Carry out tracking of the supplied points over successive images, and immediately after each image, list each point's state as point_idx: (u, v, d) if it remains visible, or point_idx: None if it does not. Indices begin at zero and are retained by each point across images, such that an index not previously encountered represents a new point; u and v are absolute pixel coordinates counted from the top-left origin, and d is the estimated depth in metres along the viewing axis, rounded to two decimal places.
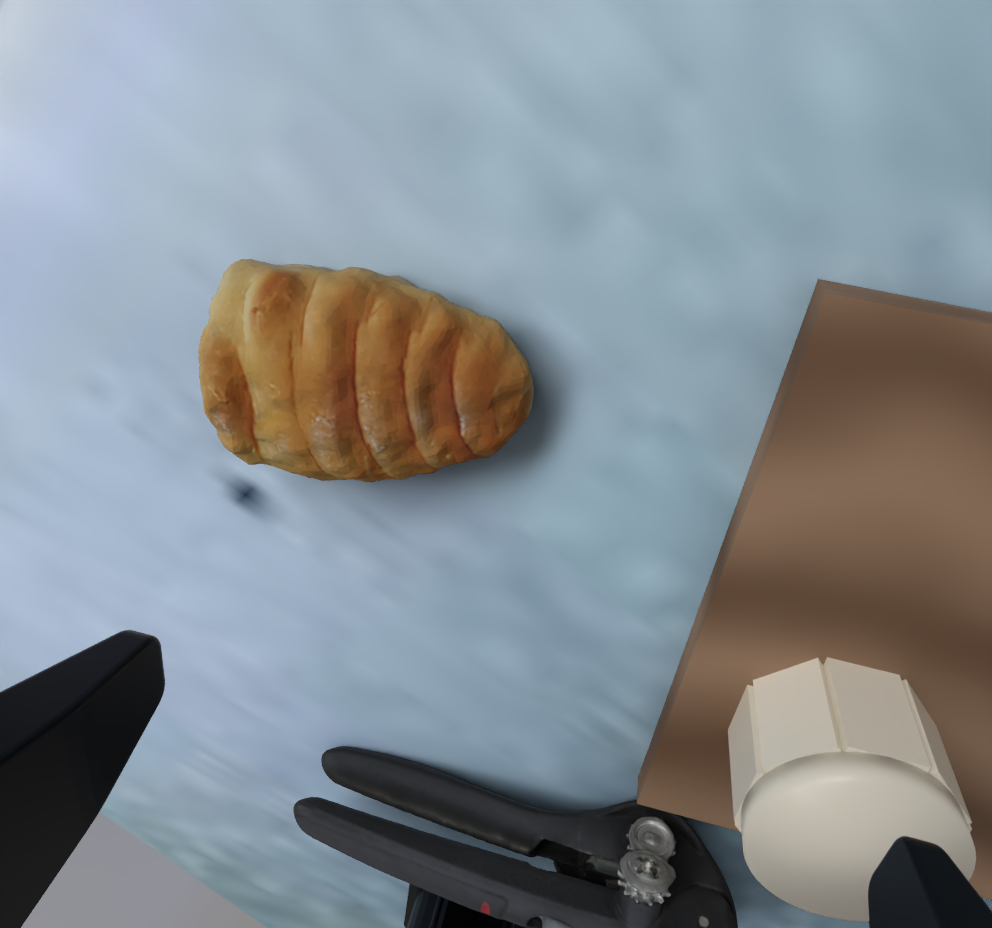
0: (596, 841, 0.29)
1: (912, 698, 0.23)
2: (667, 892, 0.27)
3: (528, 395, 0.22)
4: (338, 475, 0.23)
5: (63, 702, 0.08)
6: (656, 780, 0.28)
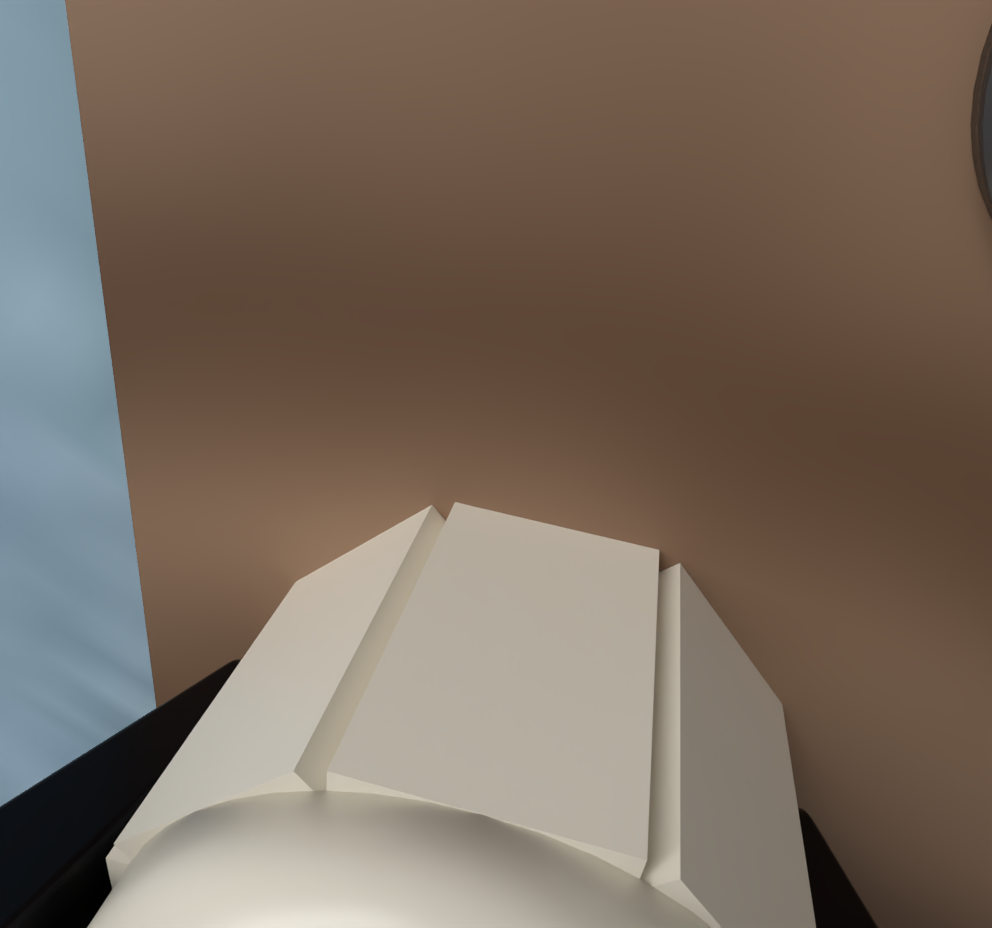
0: None
1: (679, 613, 0.07)
2: None
3: None
4: None
5: None
6: None
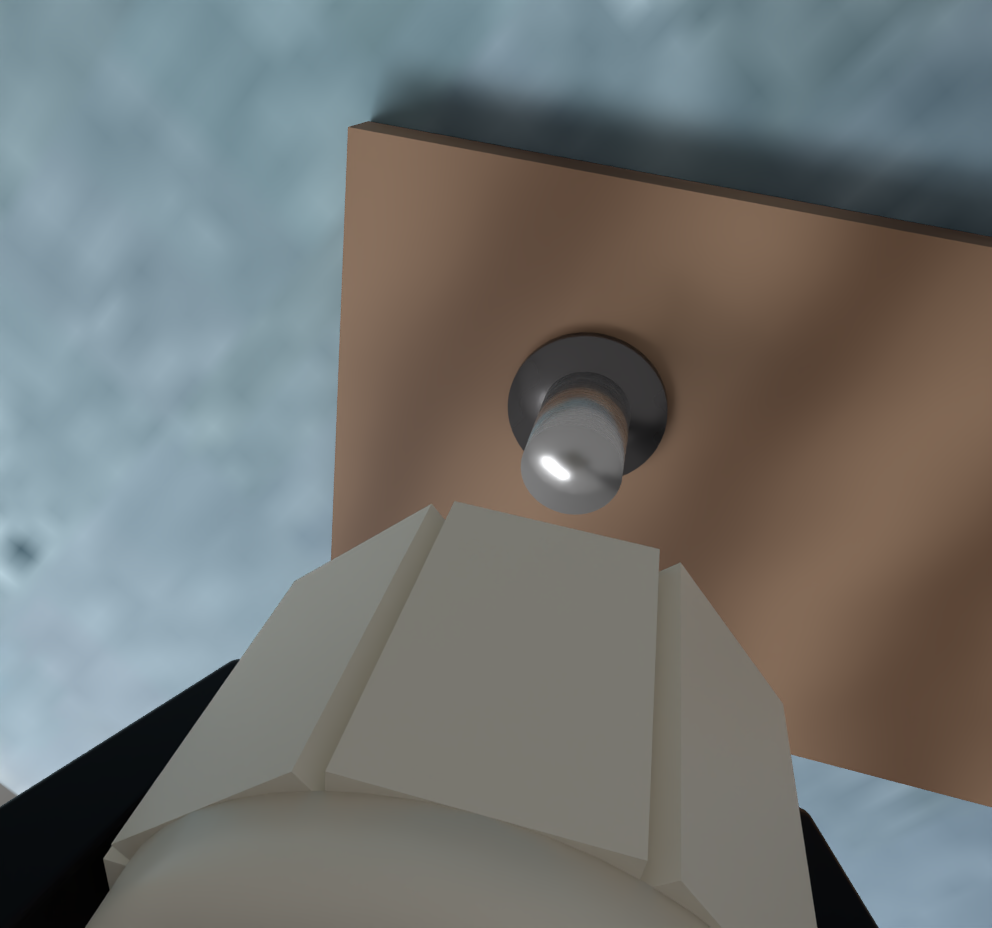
0: None
1: (680, 612, 0.07)
2: None
3: None
4: None
5: None
6: (978, 793, 0.21)
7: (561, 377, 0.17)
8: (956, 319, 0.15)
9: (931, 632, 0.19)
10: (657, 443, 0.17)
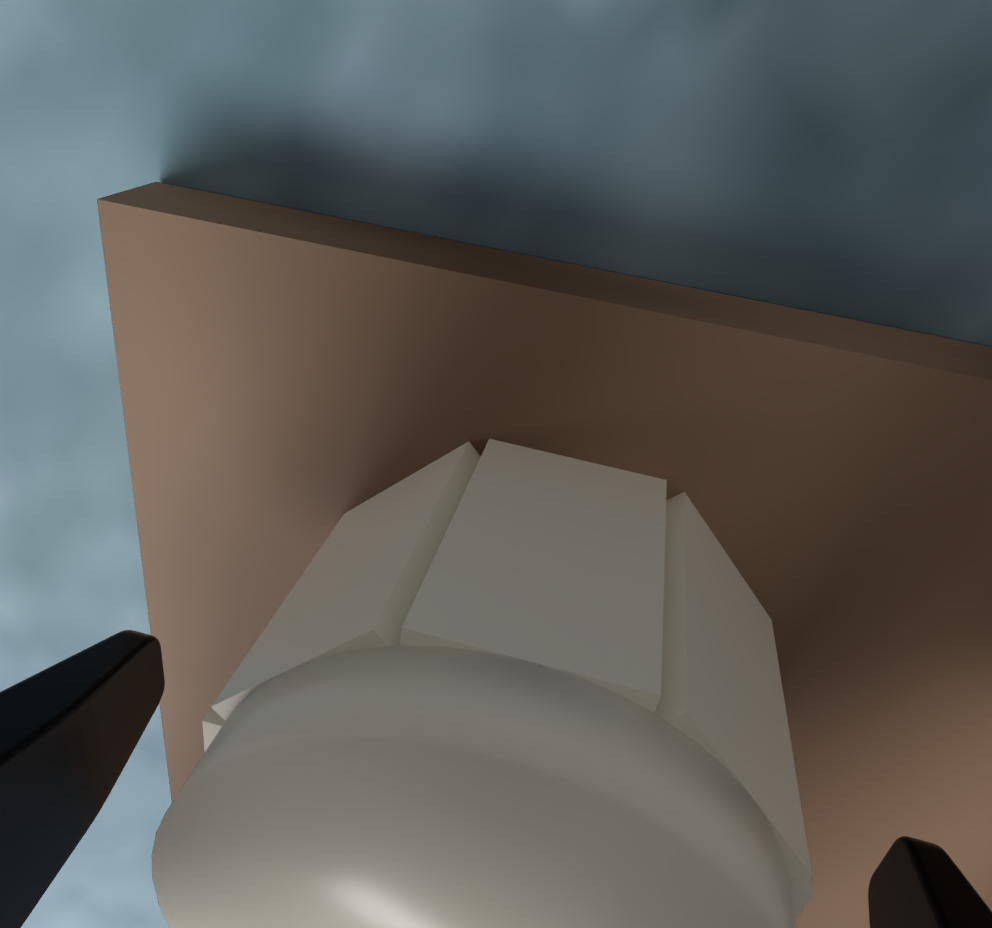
0: None
1: (684, 529, 0.09)
2: None
3: None
4: None
5: (63, 702, 0.08)
6: None
7: None
8: None
9: None
10: None
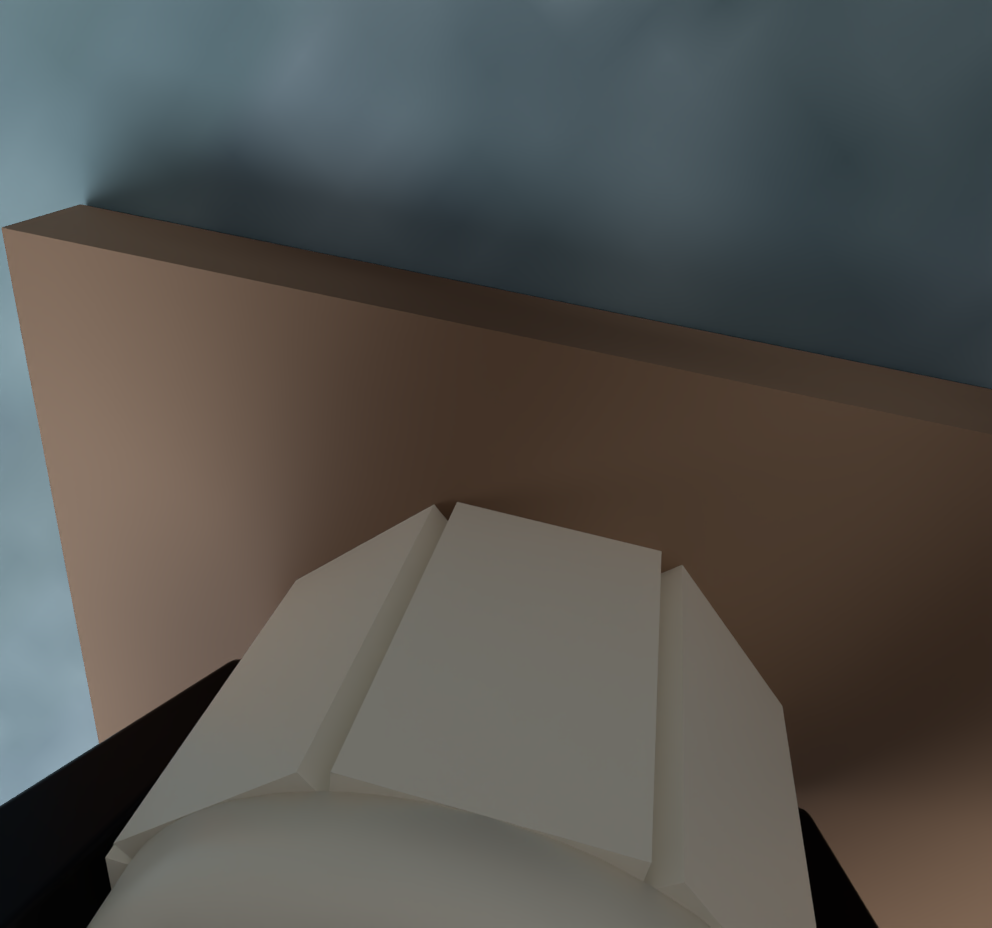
0: None
1: (681, 615, 0.07)
2: None
3: None
4: None
5: None
6: None
7: None
8: None
9: None
10: None
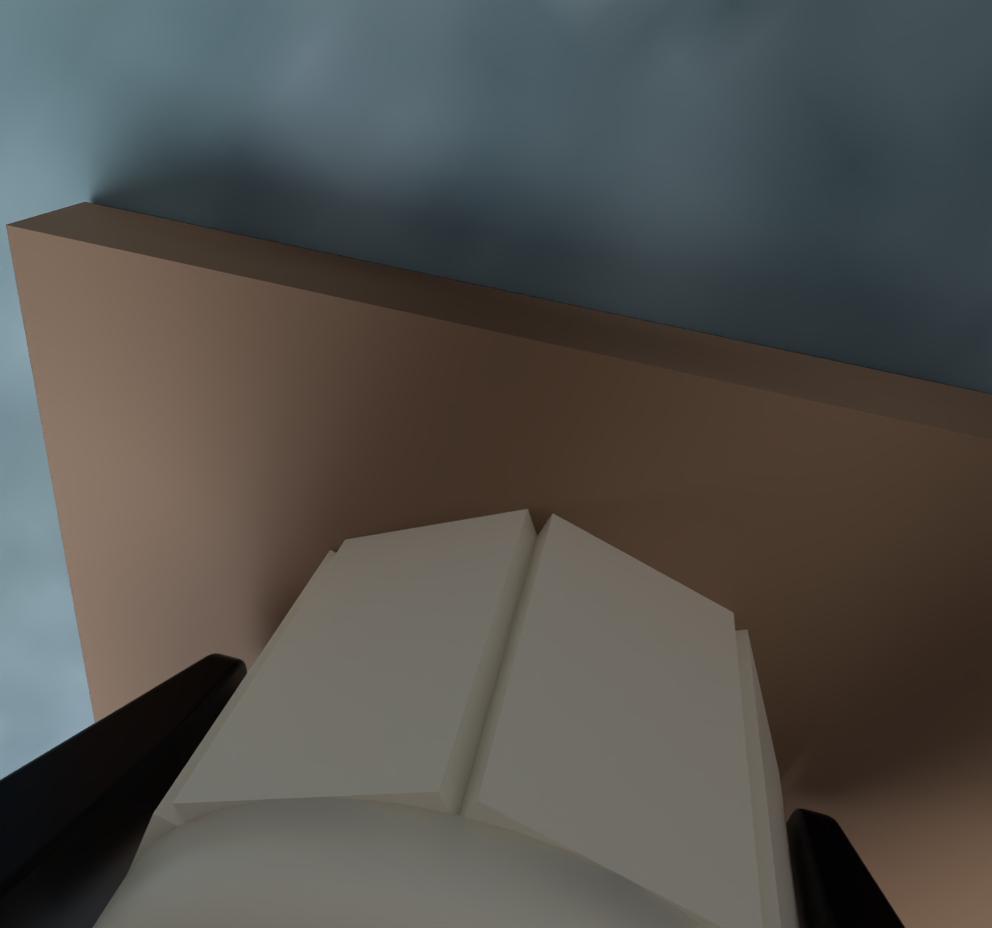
0: None
1: (320, 582, 0.08)
2: None
3: None
4: None
5: (164, 730, 0.08)
6: None
7: None
8: None
9: None
10: None
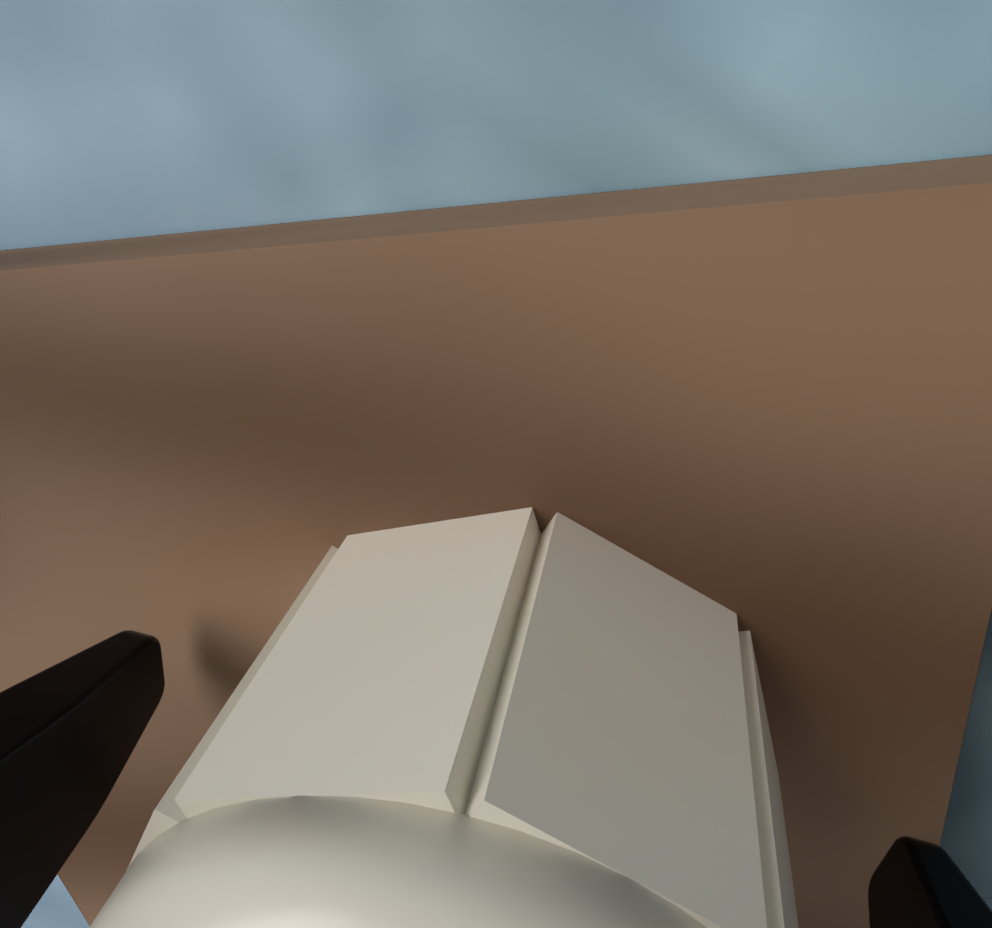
0: None
1: (322, 578, 0.08)
2: None
3: None
4: None
5: (63, 702, 0.08)
6: None
7: None
8: None
9: None
10: None
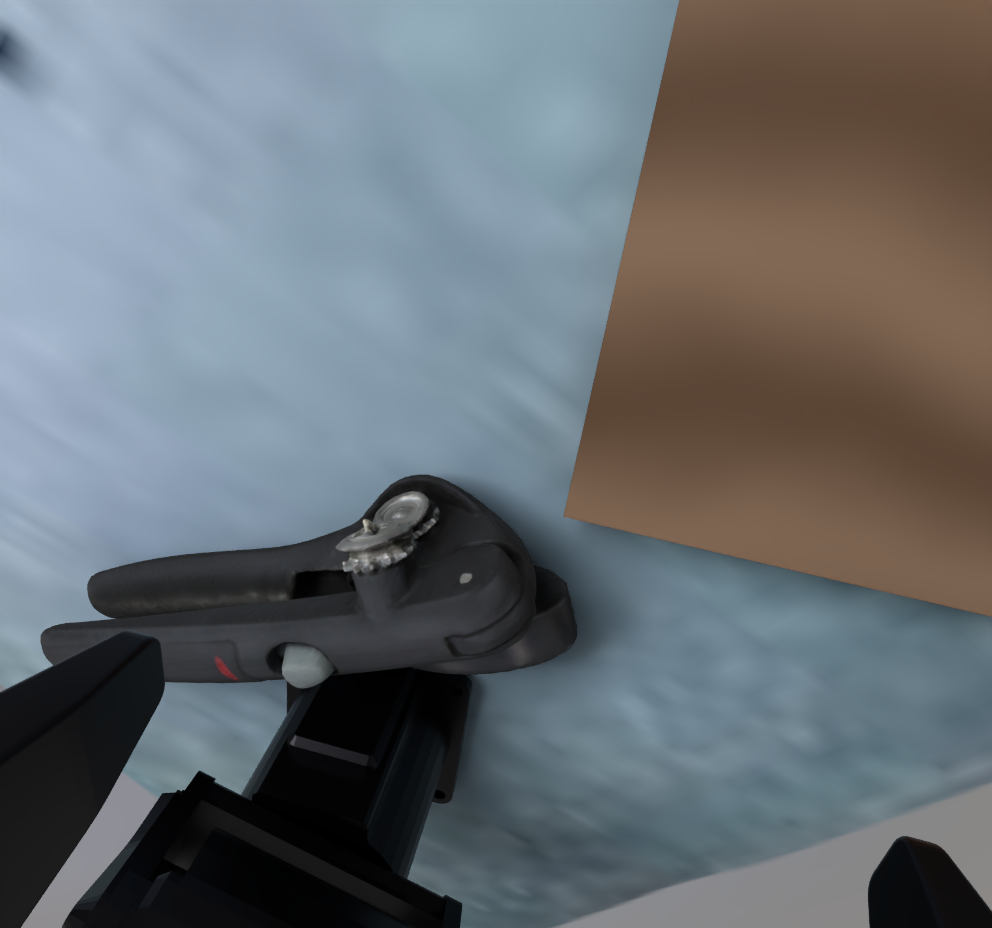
0: None
1: None
2: (401, 552, 0.19)
3: None
4: None
5: (63, 702, 0.08)
6: (588, 472, 0.20)
7: None
8: None
9: (817, 401, 0.18)
10: None
